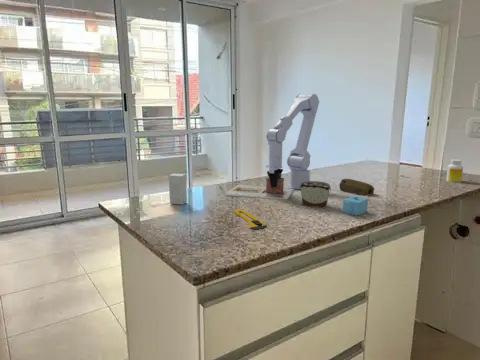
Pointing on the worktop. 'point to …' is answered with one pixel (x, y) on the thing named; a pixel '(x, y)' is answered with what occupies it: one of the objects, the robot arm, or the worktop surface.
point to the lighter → (277, 189)
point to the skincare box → (177, 188)
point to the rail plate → (257, 194)
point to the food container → (315, 193)
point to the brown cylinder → (356, 187)
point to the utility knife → (251, 220)
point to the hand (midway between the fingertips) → (274, 186)
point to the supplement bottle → (454, 171)
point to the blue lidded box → (355, 205)
